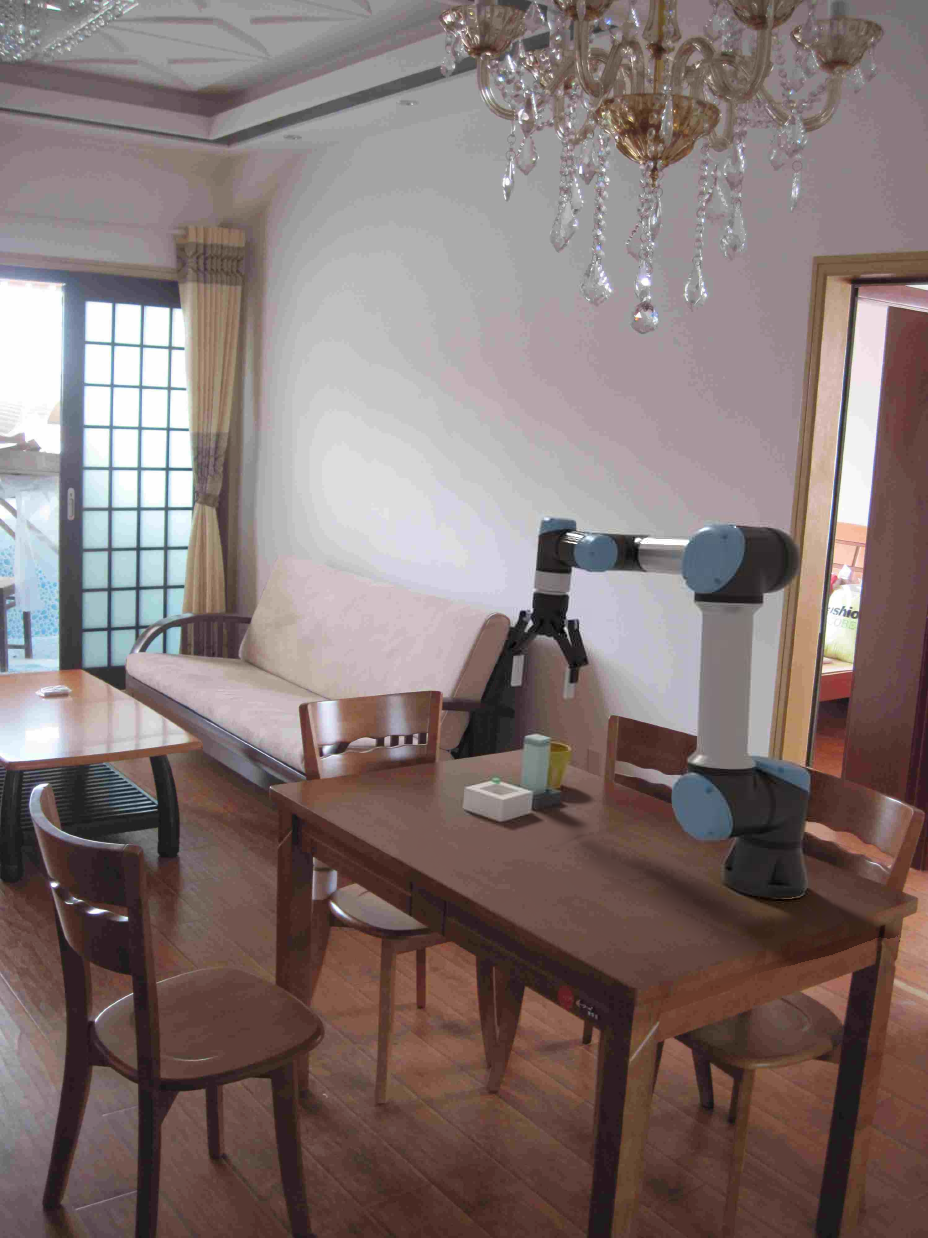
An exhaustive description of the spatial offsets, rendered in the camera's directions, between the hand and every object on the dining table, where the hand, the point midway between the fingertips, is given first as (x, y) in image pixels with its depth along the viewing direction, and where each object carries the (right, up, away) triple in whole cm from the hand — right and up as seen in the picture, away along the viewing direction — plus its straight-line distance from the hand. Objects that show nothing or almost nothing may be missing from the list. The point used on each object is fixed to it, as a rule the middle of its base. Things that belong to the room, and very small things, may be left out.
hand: (541, 691), depth 242 cm
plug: (-2, -24, +3) cm, 24 cm away
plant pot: (+2, -23, +17) cm, 29 cm away
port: (-10, -25, -6) cm, 27 cm away
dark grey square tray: (-2, -24, +4) cm, 24 cm away
